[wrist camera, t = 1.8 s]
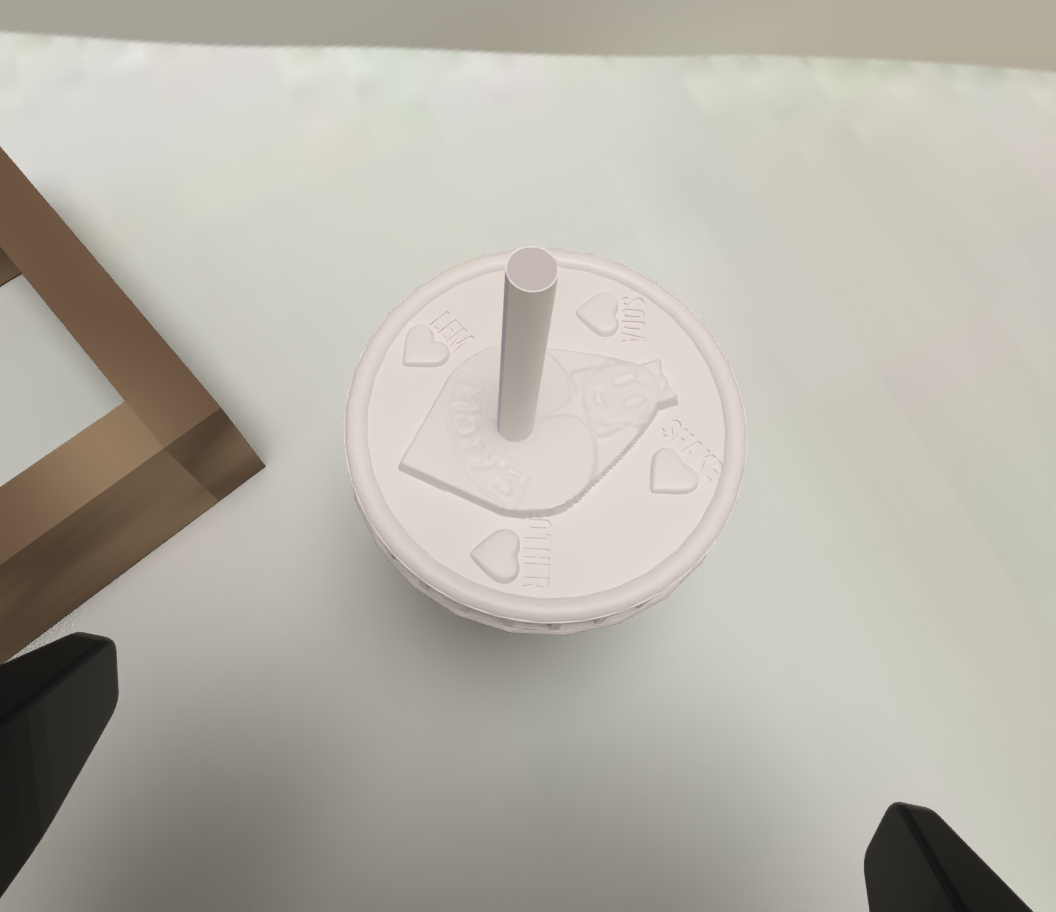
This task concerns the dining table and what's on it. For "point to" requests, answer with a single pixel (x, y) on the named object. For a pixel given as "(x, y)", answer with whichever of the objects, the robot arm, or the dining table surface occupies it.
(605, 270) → the smoothie
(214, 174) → the dining table surface
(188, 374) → the socket block
